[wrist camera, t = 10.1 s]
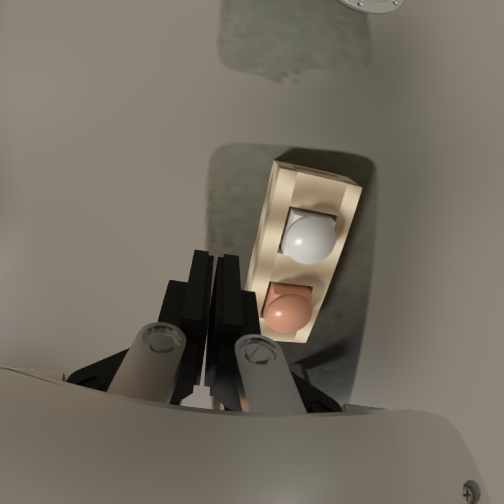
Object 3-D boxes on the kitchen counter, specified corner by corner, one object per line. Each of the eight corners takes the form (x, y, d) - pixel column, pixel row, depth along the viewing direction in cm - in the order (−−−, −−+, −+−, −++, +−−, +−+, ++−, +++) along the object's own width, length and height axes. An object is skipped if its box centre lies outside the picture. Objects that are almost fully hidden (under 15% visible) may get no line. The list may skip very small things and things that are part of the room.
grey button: (284, 196, 37) (293, 213, 32) (327, 205, 38) (342, 222, 33) (273, 238, 40) (280, 260, 35) (315, 245, 41) (327, 267, 35)
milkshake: (313, 357, 53) (325, 400, 44) (304, 375, 55) (314, 417, 46) (289, 356, 52) (299, 400, 43) (282, 375, 54) (289, 418, 46)
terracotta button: (267, 269, 41) (272, 294, 36) (308, 275, 42) (318, 300, 37) (258, 304, 43) (262, 331, 38) (296, 308, 44) (304, 334, 39)
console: (273, 159, 36) (280, 168, 32) (347, 177, 38) (362, 187, 33) (238, 315, 47) (239, 337, 42) (299, 321, 48) (305, 342, 44)
